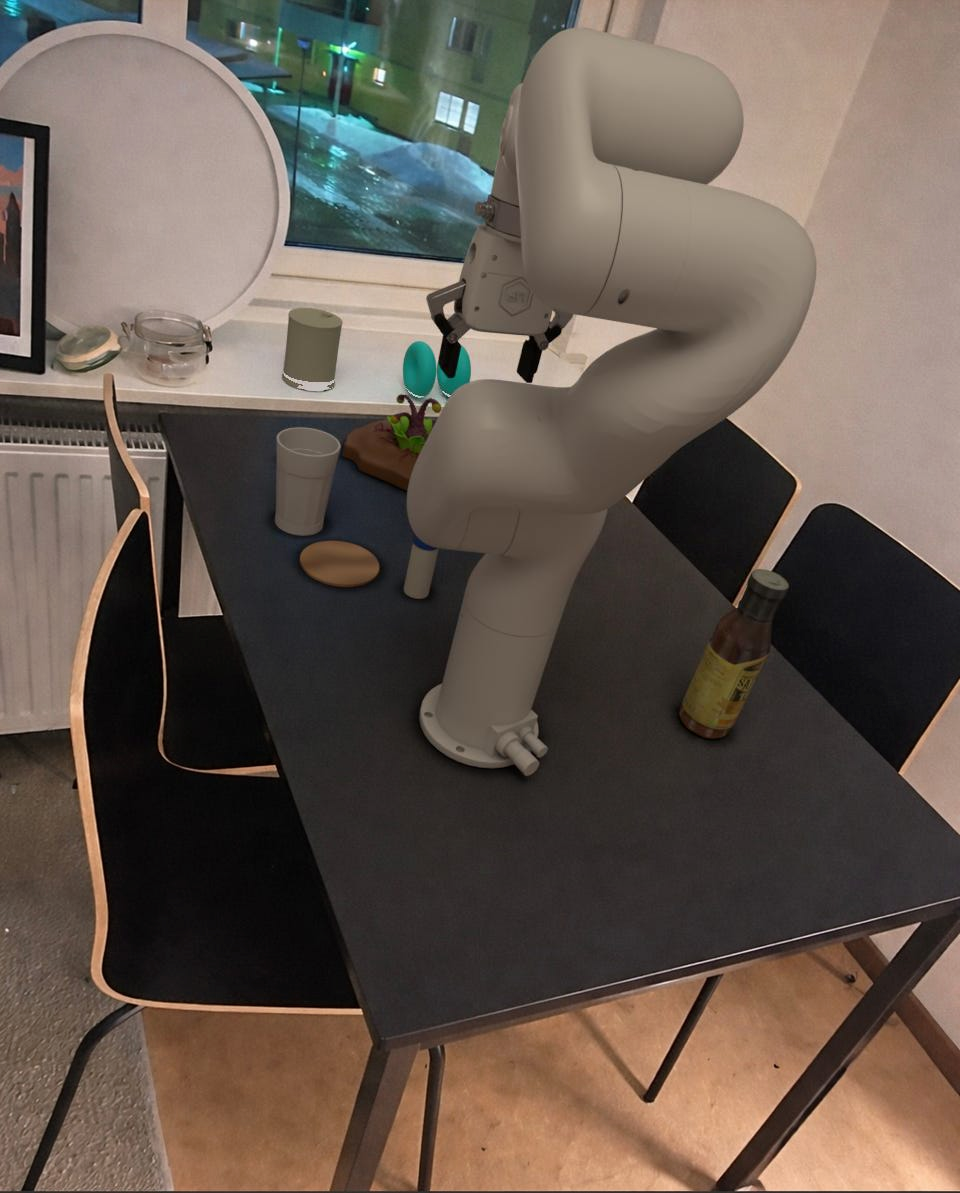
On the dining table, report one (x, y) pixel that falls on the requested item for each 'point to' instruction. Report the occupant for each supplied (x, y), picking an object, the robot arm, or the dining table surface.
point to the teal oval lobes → (432, 371)
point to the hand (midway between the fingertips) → (486, 375)
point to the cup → (304, 478)
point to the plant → (391, 444)
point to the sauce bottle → (733, 658)
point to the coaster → (339, 563)
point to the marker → (420, 569)
